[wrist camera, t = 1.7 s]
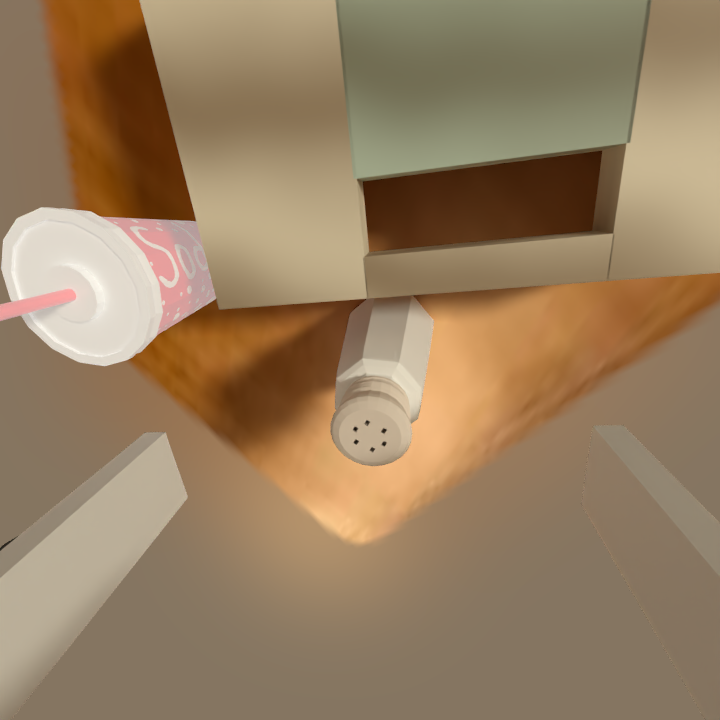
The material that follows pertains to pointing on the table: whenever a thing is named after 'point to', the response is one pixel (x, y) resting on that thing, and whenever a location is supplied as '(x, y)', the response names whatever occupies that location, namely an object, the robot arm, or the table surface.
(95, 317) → the beverage cup
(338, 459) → the table surface
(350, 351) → the pepper shaker
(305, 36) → the cut-out shelf
